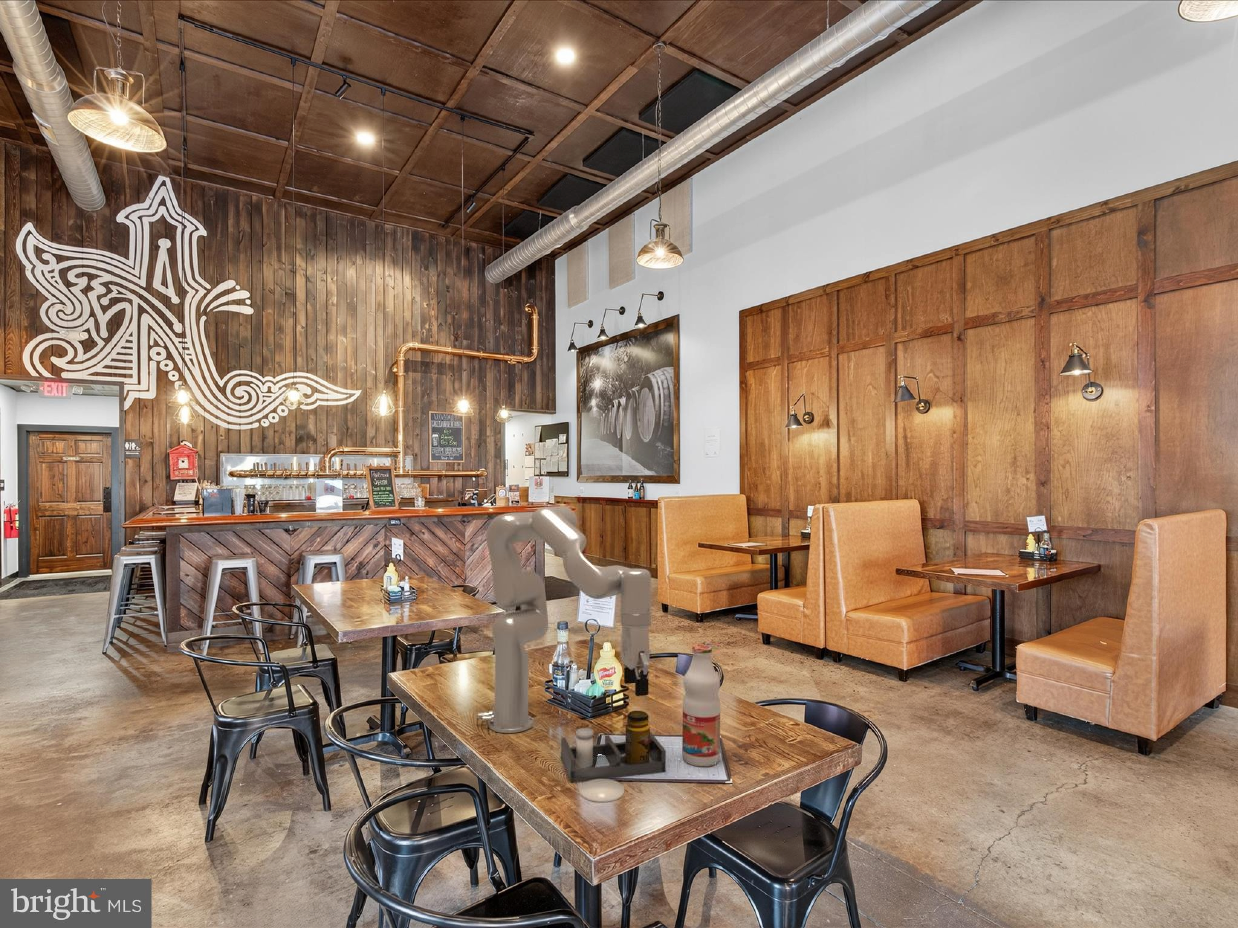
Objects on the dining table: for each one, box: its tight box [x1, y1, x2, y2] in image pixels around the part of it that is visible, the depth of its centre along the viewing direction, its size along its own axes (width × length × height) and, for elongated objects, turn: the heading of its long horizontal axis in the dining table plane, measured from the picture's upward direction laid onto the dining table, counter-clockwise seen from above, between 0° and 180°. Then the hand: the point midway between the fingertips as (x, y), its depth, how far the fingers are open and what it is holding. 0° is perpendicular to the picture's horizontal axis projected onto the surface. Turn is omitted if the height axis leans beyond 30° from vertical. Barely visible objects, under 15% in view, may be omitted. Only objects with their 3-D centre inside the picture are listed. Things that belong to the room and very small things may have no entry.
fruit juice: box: [681, 644, 721, 767], centre depth 157 cm, size 9×9×28 cm
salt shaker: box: [575, 727, 594, 769], centre depth 153 cm, size 4×4×8 cm
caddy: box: [560, 731, 667, 784], centre depth 153 cm, size 23×13×5 cm, turn 105°
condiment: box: [620, 710, 651, 764], centre depth 155 cm, size 7×8×12 cm
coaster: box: [579, 778, 625, 803], centre depth 140 cm, size 10×10×1 cm
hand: (635, 688), depth 155 cm, fingers open, 9 cm apart
